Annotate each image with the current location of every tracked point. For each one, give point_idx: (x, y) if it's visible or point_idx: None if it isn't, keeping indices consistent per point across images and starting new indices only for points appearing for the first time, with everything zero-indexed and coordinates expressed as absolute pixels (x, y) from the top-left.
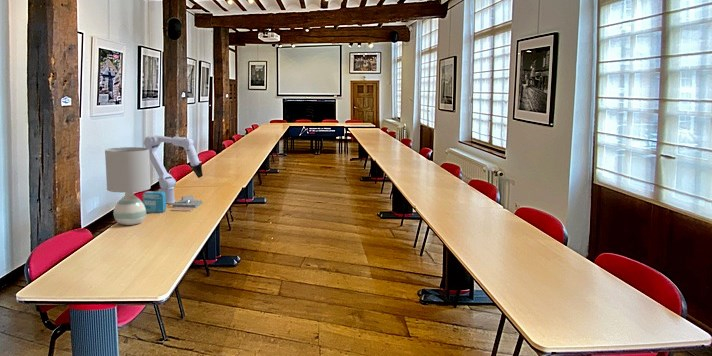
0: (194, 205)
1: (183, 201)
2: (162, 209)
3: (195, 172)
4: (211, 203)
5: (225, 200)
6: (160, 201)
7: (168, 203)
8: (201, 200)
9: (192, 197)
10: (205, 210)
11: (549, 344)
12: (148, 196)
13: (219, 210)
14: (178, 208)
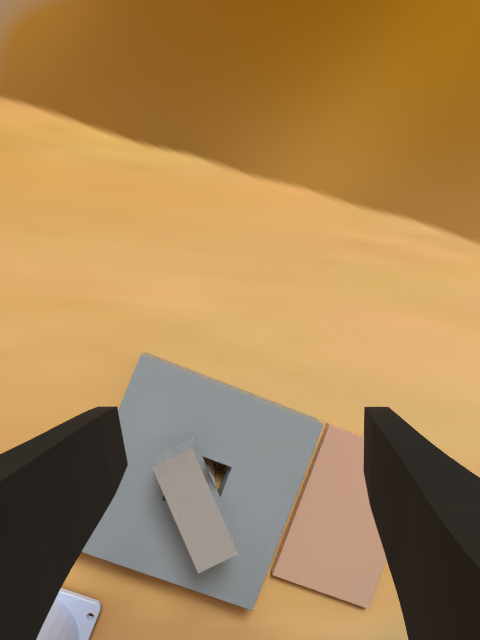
0: (319, 429)
1: (148, 520)
2: None
3: (46, 597)
4: (159, 278)
5: (57, 147)
6: None
7: (90, 634)
8: (140, 361)
9: (198, 457)
10: (407, 347)
11: None
12: None
13: (430, 246)
14: (333, 550)
